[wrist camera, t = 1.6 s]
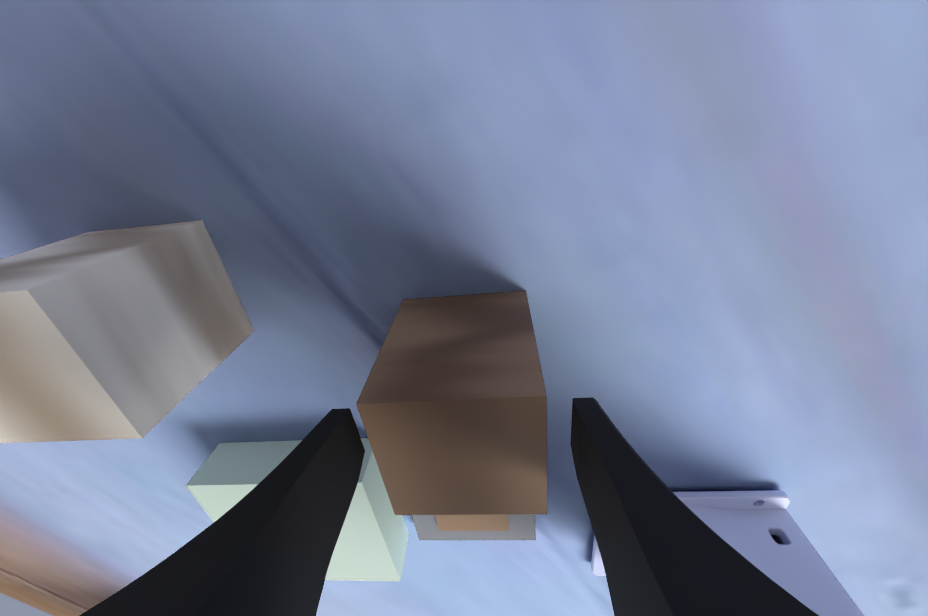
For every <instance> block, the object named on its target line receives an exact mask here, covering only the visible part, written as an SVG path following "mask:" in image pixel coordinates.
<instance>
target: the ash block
mask: <svg viewBox="0 0 928 616" xmlns="http://www.w3.org/2000/svg"><path fill="white" fill-rule="evenodd" d="M253 332H254V329H253V327H252V325H251V323H250V321H249V319H248V316H247V314H246V312H245V310H244V308H243V306H242V304H241V301H240V299H239V297H238V295H237V293H236V291H235V289H234V286H233V284H232V282H231V280H230V278H229V276H228V274H227V271H226V269H225V267H224V265H223V263H222V261H221V259H220V256H219V254H218V252H217V250H216V248H215V246H214V244H213V241H212V239H211V237H210V235H209V233H208V231H207V229H206V226H205V224H204V222H203V220H199V221H189V222H180V223H170V224H161V225H151V226H142V227H132V228H122V229H113V230H103V231H94V232H86V233H83V234H79V235H76V236H73V237H70V238H67V239H63V240H60V241H57V242H54V243H51V244H47V245H44V246H41V247H38V248H35V249H32V250H28V251H25V252H22V253H19V254H16V255H12V256H9V257H6V258H3V259H0V443H16V442H46V441H75V440H105V439H135V438H143V437H144V436H145V435H146V434H147V433H148V432H149V431H150V430H151V429H152V428H153V427H154V426H155V425H156V424H157V423H159V422H160V421H161V420H162V419H163V418H164V417H165V416H166V415H167V414H168V413H169V412H170V411H171V410H172V409H173V408H174V407H175V406H176V405H177V404H178V403H179V402H180V401H182V400H183V399H184V398H185V397H186V396H187V395H188V394H189V393H190V392H191V391H192V390H193V389H194V388H195V387H196V386H197V385H198V384H199V383H200V382H201V381H202V380H203V379H205V378H206V377H207V376H208V375H209V374H210V373H211V372H212V371H213V370H214V369H215V368H216V367H217V366H218V365H219V364H220V363H221V362H222V361H223V360H224V359H225V358H226V357H228V356H229V355H230V354H231V353H232V352H233V351H234V350H235V349H236V348H237V347H238V346H239V345H240V344H241V343H242V342H243V341H244V340H245V339H246V338H247V337H248V336H249V335H251V334H252V333H253Z"/></svg>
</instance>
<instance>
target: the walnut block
mask: <svg viewBox="0 0 928 616" xmlns="http://www.w3.org/2000/svg"><path fill="white" fill-rule="evenodd" d="M356 405H357V408H358V410H359V413H360V416H361V419H362V422H363V425H364V428H365V431H366V433H367V436H368V439H369V442H370V445H371V448H372V451H373V454H374V456H375V459H376V462H377V465H378V468H379V471H380V474H381V477H382V479H383V482H384V485H385V488H386V491H387V494H388V497H389V500H390V502H391V505H392V508H393V511H394V514H395V515H490V514H547V405H546V391H545V386H544V381H543V376H542V371H541V366H540V361H539V355H538V350H537V345H536V340H535V335H534V330H533V325H532V320H531V315H530V309H529V304H528V299H527V294H526V291H512V292H499V293H486V294H472V295H459V296H446V297H433V298H419V299H406V300H403V301H402V303H401V305H400V307H399V310H398V312H397V314H396V316H395V319H394V321H393V323H392V325H391V327H390V330H389V332H388V334H387V336H386V339H385V341H384V343H383V345H382V348H381V350H380V352H379V354H378V357H377V359H376V361H375V363H374V366H373V368H372V370H371V372H370V374H369V377H368V379H367V381H366V383H365V386H364V388H363V390H362V392H361V395H360V397H359V399H358V401H357V404H356Z"/></svg>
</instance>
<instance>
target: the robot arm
mask: <svg viewBox="0 0 928 616" xmlns="http://www.w3.org/2000/svg"><path fill="white" fill-rule="evenodd" d="M571 448H572V453H573V459H574V464H575V469H576V474H577V478H578V482H579V485H580V488H581V492H582V495H583V498H584V502H585V505H586V508H587V512H588V515H589V518H590V521H591V525H592V528H593V531H594V542H593V551H592V561H591V568H592V573H593V574H595V575H597V576H606V578H607V582H608V587H609V592H610V596H611V601H612V606H613V610H614V615H615V616H864V615H863V613H862V612H861V611H860V609H859V608H858V607H857V605H856V604H855V603H854V601H853V600H852V598H851V597H850V596H849V594H848V593H847V592H846V590H845V589H844V588H843V586H842V585H841V584H840V582H839V581H838V579H837V578H836V577H835V575H834V574H833V573H832V571H831V570H830V569H829V567H828V566H827V565H826V563H825V562H824V560H823V559H822V558H821V556H820V555H819V554H818V552H817V551H816V550H815V548H814V547H813V545H812V544H811V543H810V541H809V540H808V539H807V537H806V536H805V535H804V533H803V532H802V531H801V529H800V528H799V526H798V525H797V524H796V522H795V521H794V520H793V518H792V517H791V516H790V514H789V513H788V512H787V510H786V508H787V507H788V505H789V503H790V499H789V498H788V496H787V495H786V494H785V492H783V491H778V490H773V491H703V492H672V491H671V490H670V489H669V488H668V487H667V486H666V485H665V484H664V483H663V482H662V481H661V479H660V478H659V477H658V476H657V475H656V474H655V473H654V472H653V471H652V470H651V469H650V468H649V466H648V465H647V464H646V463H645V462H644V461H643V460H642V458H641V457H640V456H639V455H638V454H637V453H636V451H635V450H634V449H633V448H632V447H631V445H630V444H629V443H628V442H627V441H626V439H625V438H624V437H623V436H622V435H621V433H620V432H619V431H618V429H617V428H616V427H615V426H614V424H613V423H612V422H611V420H610V419H609V418H608V416H607V415H606V413H605V412H604V411H603V409H602V408H601V406H600V405H599V404H598V402H597V401H596V400H595V399H594V398H573V403H572V426H571ZM364 454H365V449H364V446H363V443H362V441H361V438H360V435H359V432H358V430H357V427H356V424H355V421H354V419H353V416H352V413H351V410H350V408H348V409H332V410H331V411H330V412H329V413H328V414H327V415H326V416H325V417H324V418H323V419H322V420H321V421H320V422H319V423H318V424H317V425H316V427H315V428H314V429H313V430H312V431H311V432H310V433H309V434H308V435H307V436H306V437H305V438H304V439H303V440H302V441H301V442H300V443H299V444H298V445H297V446H296V447H295V448H294V449H293V451H292V452H291V453H290V454H289V455H288V456H287V457H286V458H285V459H284V460H283V461H282V462H281V463H280V464H279V465H278V466H277V467H276V468H275V469H273V470H272V471H271V472H270V473H269V474H268V475H267V476H266V477H265V478H264V479H263V480H262V481H261V482H260V483H259V484H258V485H257V486H256V487H255V488H254V489H253V490H251V491H250V492H249V493H248V494H247V495H246V496H245V497H244V498H243V499H241V500H240V501H239V502H238V503H237V504H236V505H234V506H233V507H232V508H231V509H230V510H229V511H227V512H226V513H225V514H224V515H223V516H221V517H220V518H219V519H218V520H217V521H215V522H214V523H213V524H212V525H210V526H209V527H208V528H206V529H205V530H204V531H203V532H201V533H200V534H199V535H197V536H196V537H195V538H193V539H192V540H191V541H189V542H188V543H187V544H185V545H184V546H183V547H181V548H180V549H179V550H177V551H176V552H175V553H174V554H172V555H171V556H169V557H168V558H167V559H165V560H164V561H162V562H161V563H159V564H158V565H157V566H155V567H154V568H152V569H151V570H149V571H148V572H147V573H145V574H144V575H142V576H141V577H139V578H138V579H136V580H135V581H133V582H132V583H130V584H129V585H127V586H126V587H124V588H123V589H121V590H120V591H118V592H117V593H115V594H113V595H112V596H110V597H109V598H107V599H106V600H104V601H102V602H101V603H99V604H97V605H96V606H94V607H93V608H91V609H89V610H88V611H86V612H85V613H83V614H81V615H80V616H316V612H317V608H318V604H319V600H320V596H321V593H322V589H323V585H324V581H325V577H326V573H327V570H328V567H329V564H330V560H331V557H332V554H333V551H334V549H335V546H336V543H337V540H338V537H339V535H340V532H341V529H342V526H343V523H344V521H345V518H346V515H347V512H348V510H349V507H350V504H351V501H352V498H353V495H354V492H355V490H356V487H357V484H358V480H359V476H360V472H361V468H362V463H363V458H364Z"/></svg>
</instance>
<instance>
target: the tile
mask: <svg viewBox="0 0 928 616" xmlns="http://www.w3.org/2000/svg"><path fill="white" fill-rule="evenodd" d="M412 518H413V521H414V525H415V528H416V531H417V534H418V538H419V540H536V533H535V514H490V515H412Z"/></svg>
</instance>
